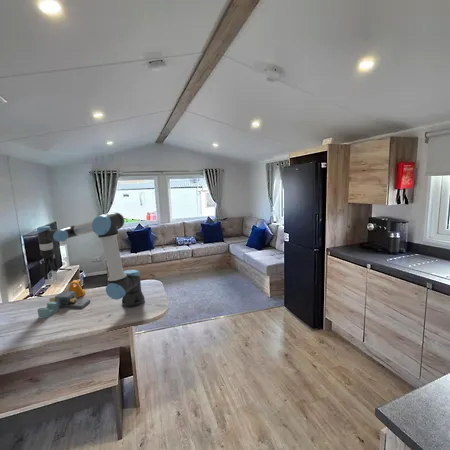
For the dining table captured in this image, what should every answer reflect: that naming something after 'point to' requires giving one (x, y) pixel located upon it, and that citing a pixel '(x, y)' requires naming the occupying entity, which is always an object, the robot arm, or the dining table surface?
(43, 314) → the v block
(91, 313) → the dining table surface
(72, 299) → the axle
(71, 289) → the bracket
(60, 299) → the block
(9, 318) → the dining table surface
